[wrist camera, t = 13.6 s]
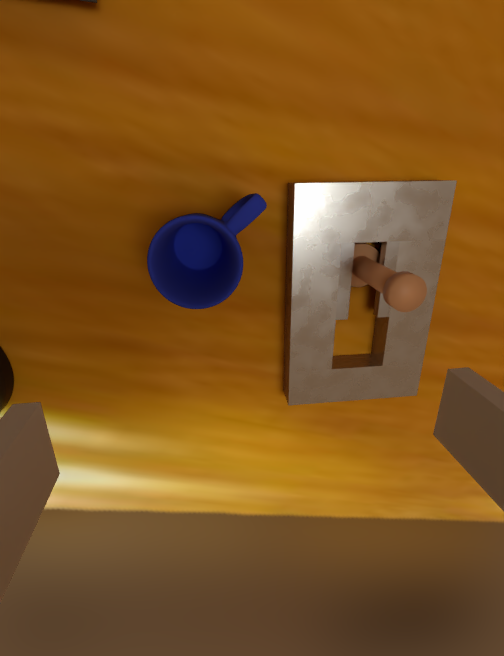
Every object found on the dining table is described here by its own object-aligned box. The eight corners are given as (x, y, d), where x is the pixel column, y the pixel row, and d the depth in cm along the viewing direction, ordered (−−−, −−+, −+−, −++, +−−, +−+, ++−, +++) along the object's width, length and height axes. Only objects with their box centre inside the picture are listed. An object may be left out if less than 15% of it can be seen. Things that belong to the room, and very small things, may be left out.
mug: (276, 223, 41) (296, 236, 32) (198, 294, 43) (195, 327, 34) (225, 162, 38) (231, 158, 29) (144, 242, 40) (126, 262, 31)
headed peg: (334, 284, 44) (377, 321, 33) (337, 242, 42) (384, 267, 31) (373, 282, 45) (430, 319, 33) (378, 241, 43) (440, 264, 32)
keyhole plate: (403, 381, 51) (416, 395, 48) (283, 390, 49) (288, 405, 46) (437, 180, 41) (456, 180, 38) (287, 182, 39) (294, 183, 36)
